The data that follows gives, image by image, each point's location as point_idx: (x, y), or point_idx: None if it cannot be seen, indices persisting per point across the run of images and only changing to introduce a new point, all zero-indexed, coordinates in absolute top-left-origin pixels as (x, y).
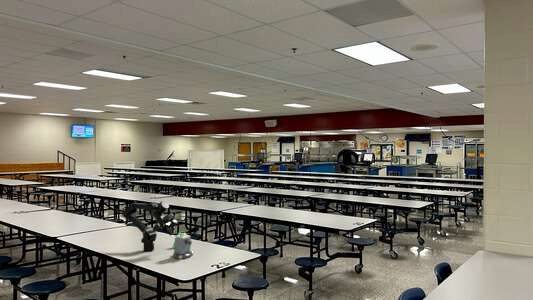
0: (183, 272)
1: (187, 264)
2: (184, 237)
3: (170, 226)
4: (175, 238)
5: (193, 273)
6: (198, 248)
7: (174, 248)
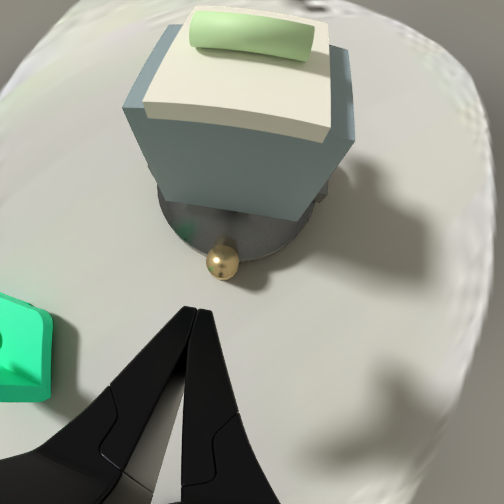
0: (442, 82)
1: (365, 90)
2: (312, 21)
3: (46, 472)
4: (351, 133)
5: (425, 51)
6: (17, 202)
7: (307, 206)
